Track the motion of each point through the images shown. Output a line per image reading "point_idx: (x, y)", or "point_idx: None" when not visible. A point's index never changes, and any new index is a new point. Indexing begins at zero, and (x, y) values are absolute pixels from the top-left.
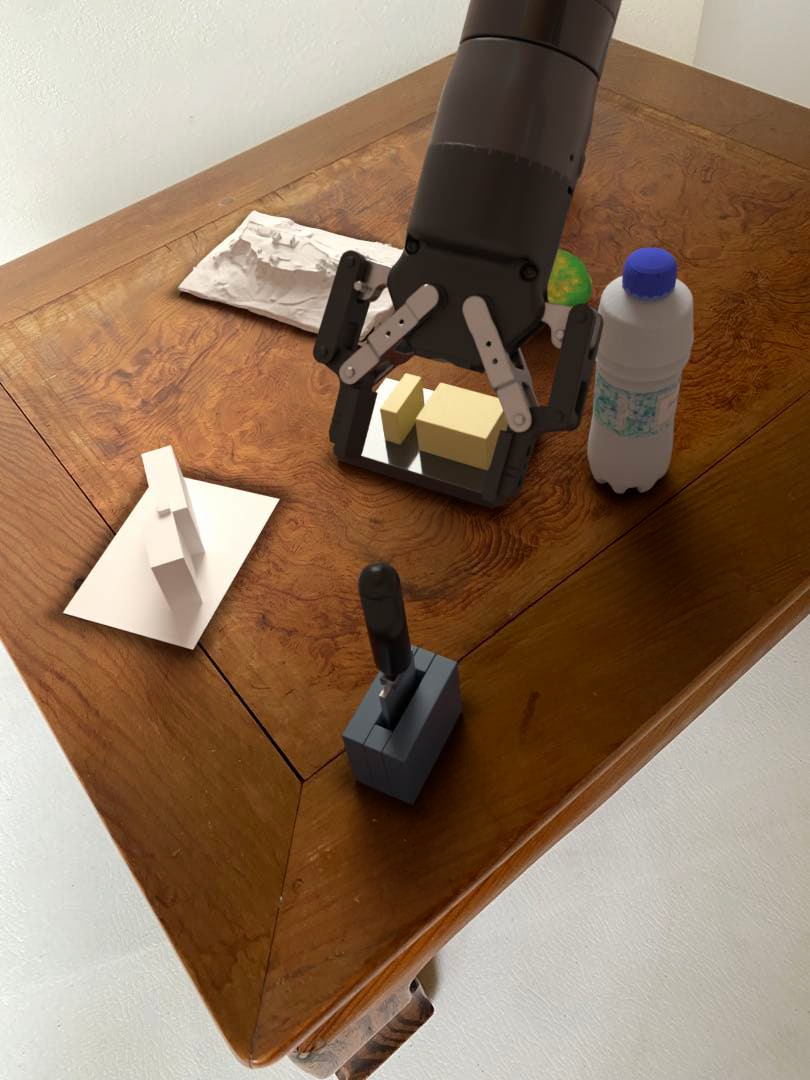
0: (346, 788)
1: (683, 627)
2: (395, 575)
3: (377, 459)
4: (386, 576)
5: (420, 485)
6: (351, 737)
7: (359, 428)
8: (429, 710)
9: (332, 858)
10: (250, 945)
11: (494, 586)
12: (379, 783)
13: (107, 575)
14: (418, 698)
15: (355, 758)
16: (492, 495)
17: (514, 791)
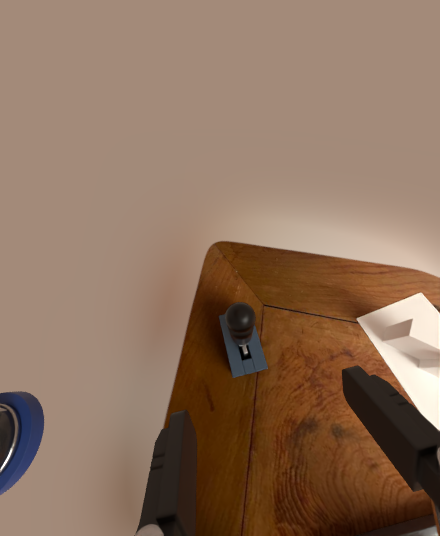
0: None
1: None
2: (230, 323)
3: (430, 529)
4: (231, 315)
5: (384, 528)
6: None
7: (368, 413)
8: (226, 343)
9: (232, 291)
10: (233, 256)
11: (274, 466)
12: None
13: (434, 320)
14: (234, 345)
15: None
16: (172, 417)
17: (193, 357)
